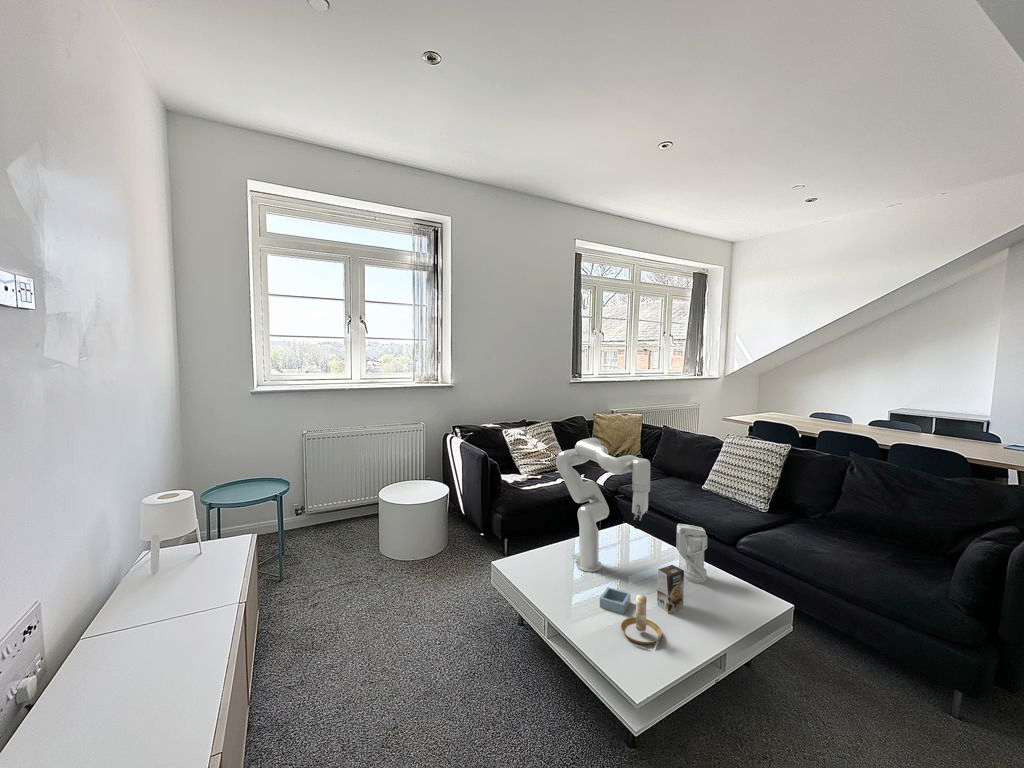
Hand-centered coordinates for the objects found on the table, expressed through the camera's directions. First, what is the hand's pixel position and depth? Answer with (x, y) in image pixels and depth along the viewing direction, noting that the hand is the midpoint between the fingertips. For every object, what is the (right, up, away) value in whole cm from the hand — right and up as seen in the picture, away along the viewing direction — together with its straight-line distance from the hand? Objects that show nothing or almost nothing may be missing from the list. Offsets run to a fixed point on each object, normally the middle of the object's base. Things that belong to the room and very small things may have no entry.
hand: (640, 524), depth 185 cm
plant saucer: (-9, -33, -28) cm, 44 cm away
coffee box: (+9, -31, -11) cm, 34 cm away
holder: (-14, -31, -10) cm, 35 cm away
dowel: (-9, -30, -28) cm, 42 cm away
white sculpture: (+28, -30, +13) cm, 43 cm away
